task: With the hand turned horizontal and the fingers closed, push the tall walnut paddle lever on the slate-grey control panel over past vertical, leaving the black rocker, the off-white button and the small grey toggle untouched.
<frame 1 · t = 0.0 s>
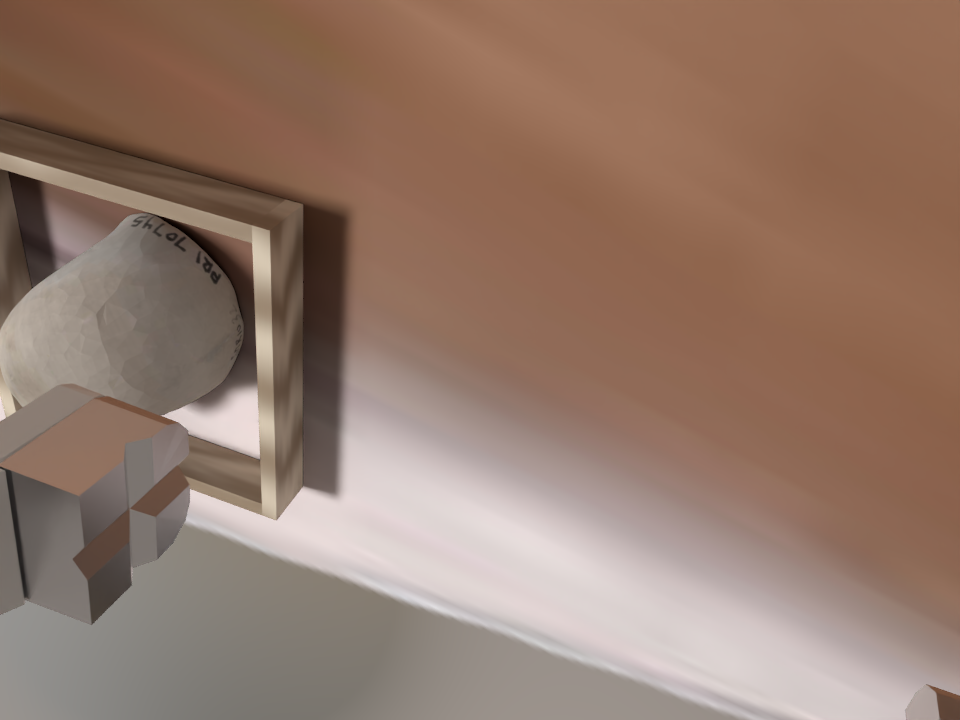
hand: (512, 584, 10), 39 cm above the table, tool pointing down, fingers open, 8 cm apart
driftwood frame: (153, 313, 66), on the table
seashell: (156, 309, 66), on the table
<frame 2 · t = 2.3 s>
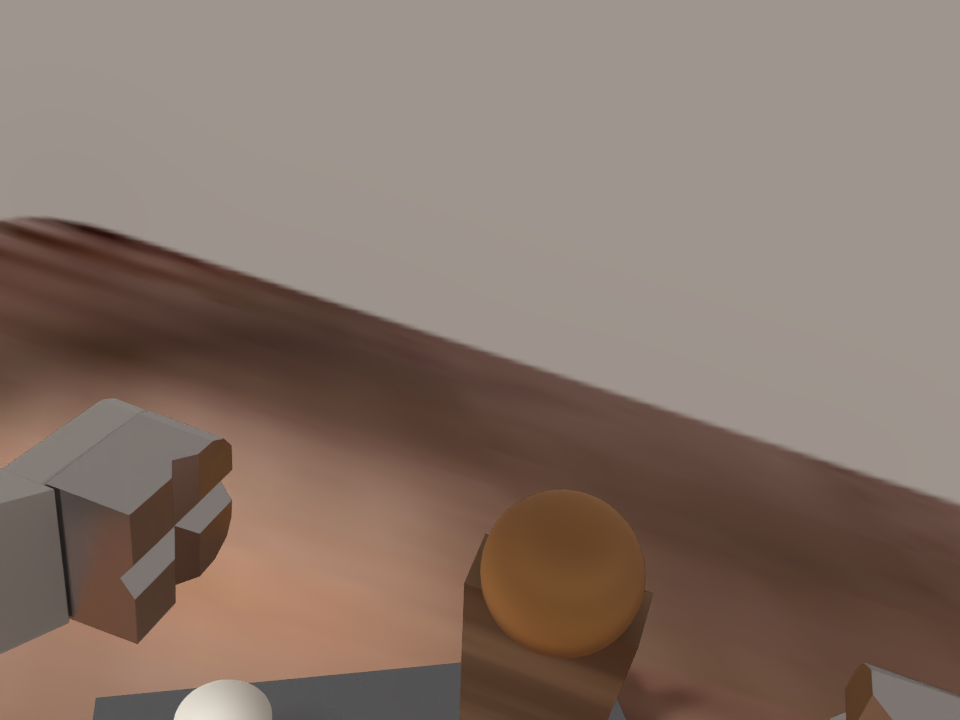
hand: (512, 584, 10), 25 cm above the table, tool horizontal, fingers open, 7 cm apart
lever: (530, 717, 24), point 12 cm above the table, hinge at -20.0°
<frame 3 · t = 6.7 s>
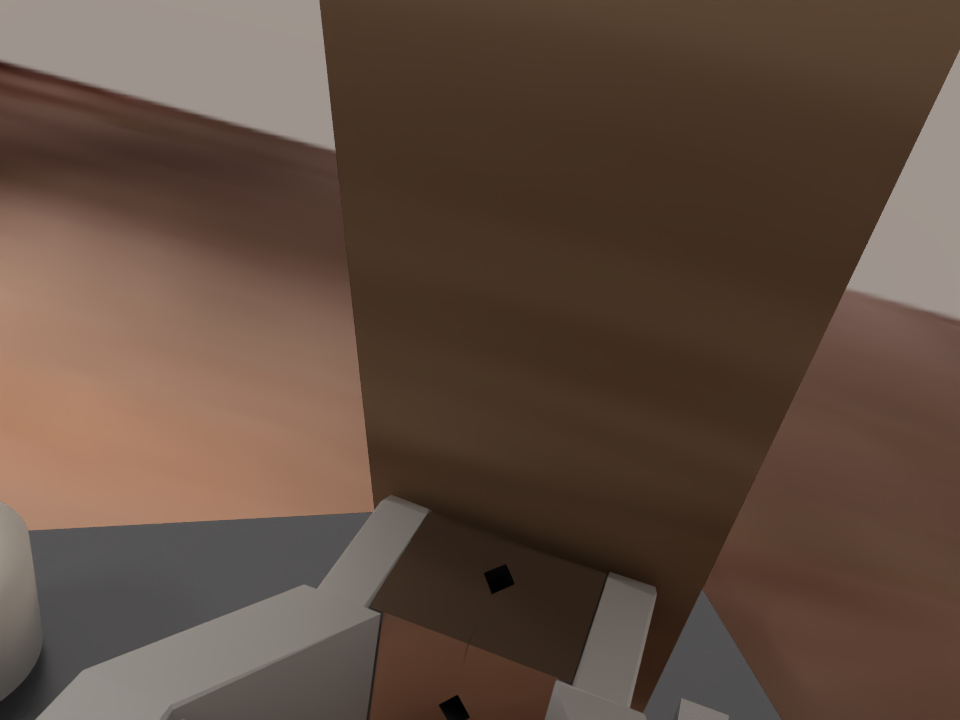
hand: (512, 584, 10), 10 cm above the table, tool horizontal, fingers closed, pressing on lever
lever: (559, 411, 9), point 12 cm above the table, hinge at -19.5°, touching gripper
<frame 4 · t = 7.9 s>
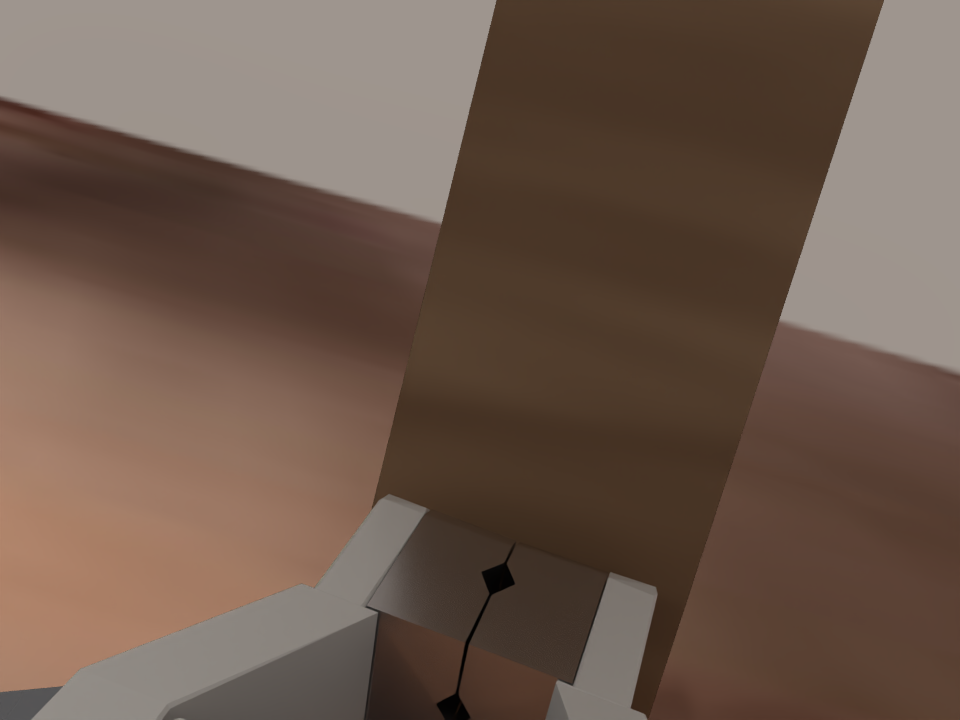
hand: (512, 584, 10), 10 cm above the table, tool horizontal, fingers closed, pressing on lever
lever: (578, 379, 10), point 12 cm above the table, hinge at 19.4°, touching gripper
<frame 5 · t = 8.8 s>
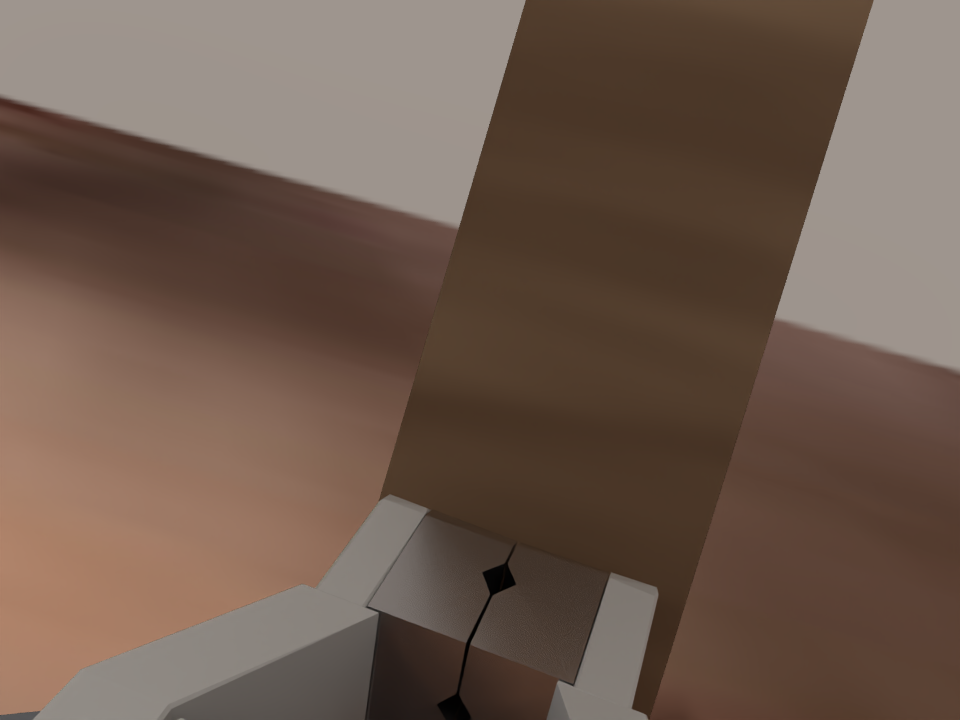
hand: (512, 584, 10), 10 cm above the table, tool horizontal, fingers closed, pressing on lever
lever: (582, 383, 11), point 12 cm above the table, hinge at 28.6°, touching gripper
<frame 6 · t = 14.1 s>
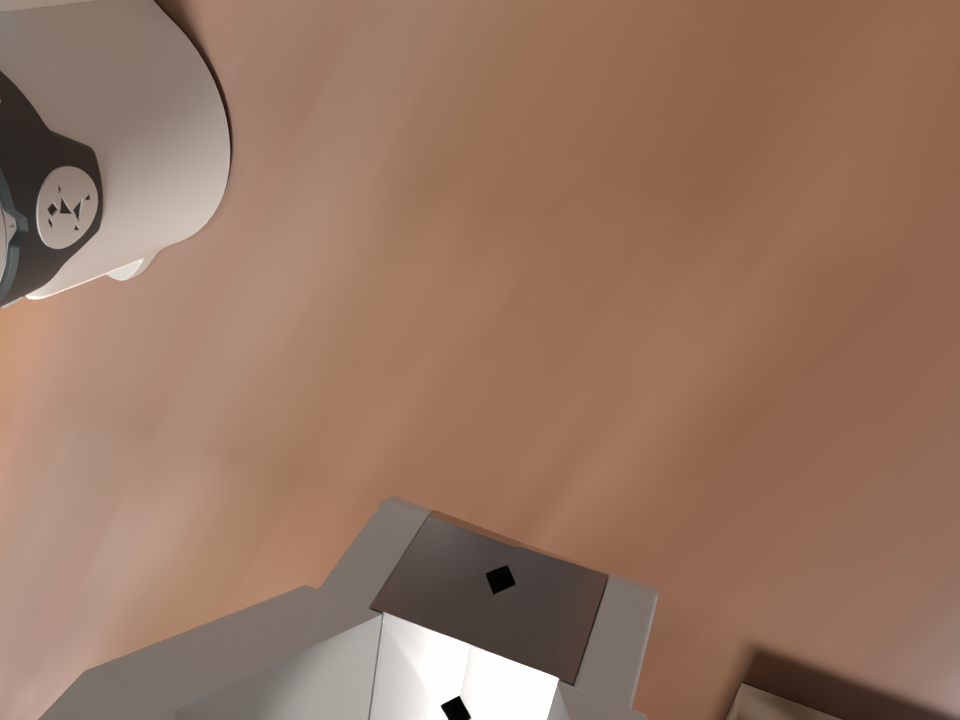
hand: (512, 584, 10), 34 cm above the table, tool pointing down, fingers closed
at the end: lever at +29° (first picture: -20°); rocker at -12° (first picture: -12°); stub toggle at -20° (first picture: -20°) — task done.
